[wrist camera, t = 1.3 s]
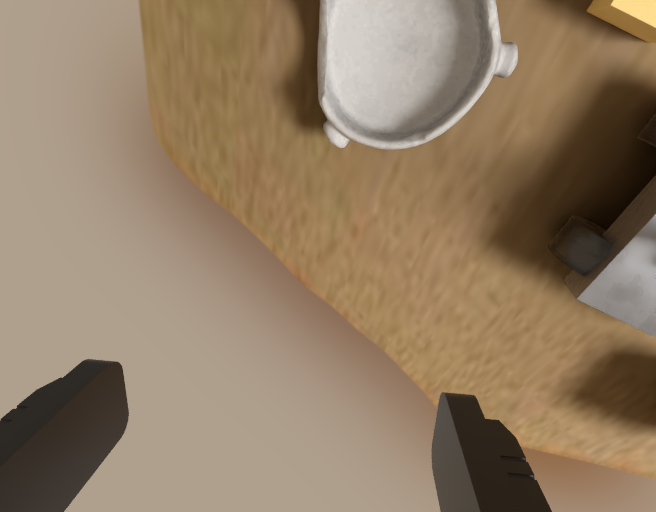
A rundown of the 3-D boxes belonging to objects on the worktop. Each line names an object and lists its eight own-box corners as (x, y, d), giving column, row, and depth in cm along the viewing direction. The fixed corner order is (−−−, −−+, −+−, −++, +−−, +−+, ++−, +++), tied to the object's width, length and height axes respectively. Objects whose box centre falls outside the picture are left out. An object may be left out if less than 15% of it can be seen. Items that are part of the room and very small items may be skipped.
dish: (341, 156, 36) (331, 170, 32) (292, -19, 31) (273, -32, 26) (513, 111, 32) (529, 120, 28) (491, -100, 27) (507, -131, 22)
